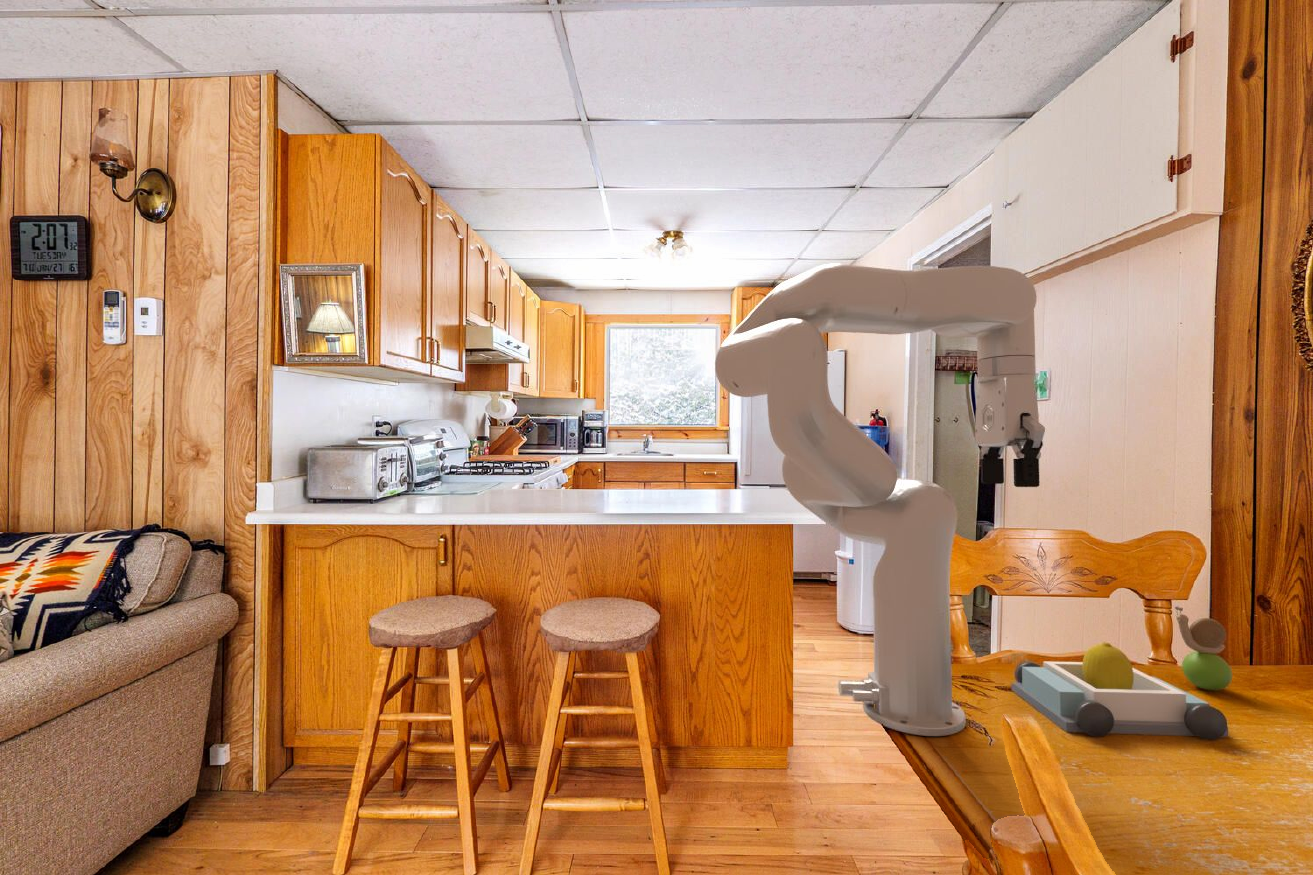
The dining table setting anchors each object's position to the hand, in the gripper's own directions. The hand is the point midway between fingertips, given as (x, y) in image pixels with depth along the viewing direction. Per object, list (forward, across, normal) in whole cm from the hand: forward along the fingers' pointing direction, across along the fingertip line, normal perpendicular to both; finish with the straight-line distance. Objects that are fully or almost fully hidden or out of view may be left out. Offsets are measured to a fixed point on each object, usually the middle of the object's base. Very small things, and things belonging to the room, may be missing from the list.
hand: (1008, 485), depth 88 cm
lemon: (+29, +7, +9) cm, 31 cm away
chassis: (+30, +7, +9) cm, 32 cm away
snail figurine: (+31, -2, +28) cm, 41 cm away
